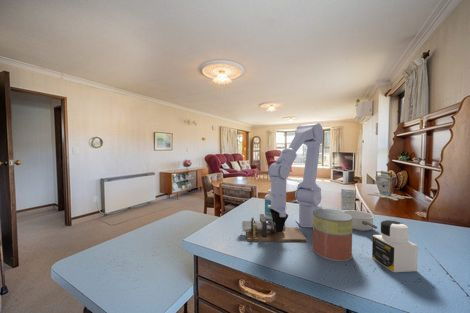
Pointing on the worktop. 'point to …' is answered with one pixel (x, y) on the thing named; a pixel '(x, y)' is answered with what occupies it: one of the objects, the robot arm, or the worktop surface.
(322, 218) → the canned food
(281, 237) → the walnut board
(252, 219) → the brass index gate
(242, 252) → the worktop surface
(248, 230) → the air tube
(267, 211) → the pill bottle
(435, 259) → the worktop surface
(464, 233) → the worktop surface
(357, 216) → the saucepan
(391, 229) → the medicine bottle
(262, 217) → the iron collar
